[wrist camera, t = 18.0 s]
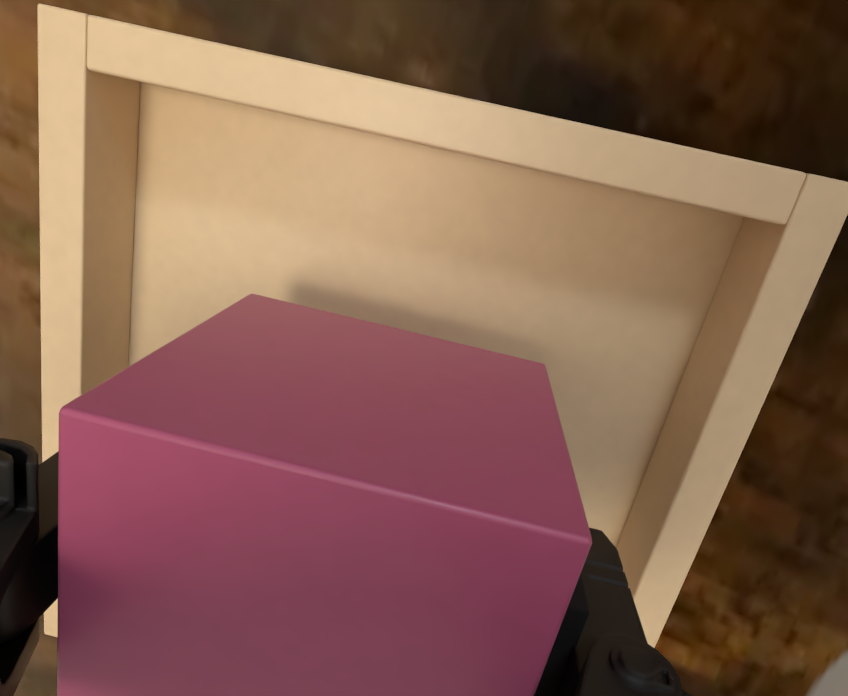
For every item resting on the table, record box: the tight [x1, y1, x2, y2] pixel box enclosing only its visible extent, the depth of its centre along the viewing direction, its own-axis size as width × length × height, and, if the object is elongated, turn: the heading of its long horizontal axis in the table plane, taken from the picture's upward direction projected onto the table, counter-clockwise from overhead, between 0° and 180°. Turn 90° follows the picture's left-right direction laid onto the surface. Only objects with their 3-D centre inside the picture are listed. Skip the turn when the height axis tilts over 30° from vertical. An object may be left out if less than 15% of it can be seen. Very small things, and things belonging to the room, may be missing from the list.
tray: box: [37, 4, 848, 648], centre depth 15 cm, size 16×16×3 cm
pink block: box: [57, 294, 592, 696], centre depth 11 cm, size 6×6×6 cm
